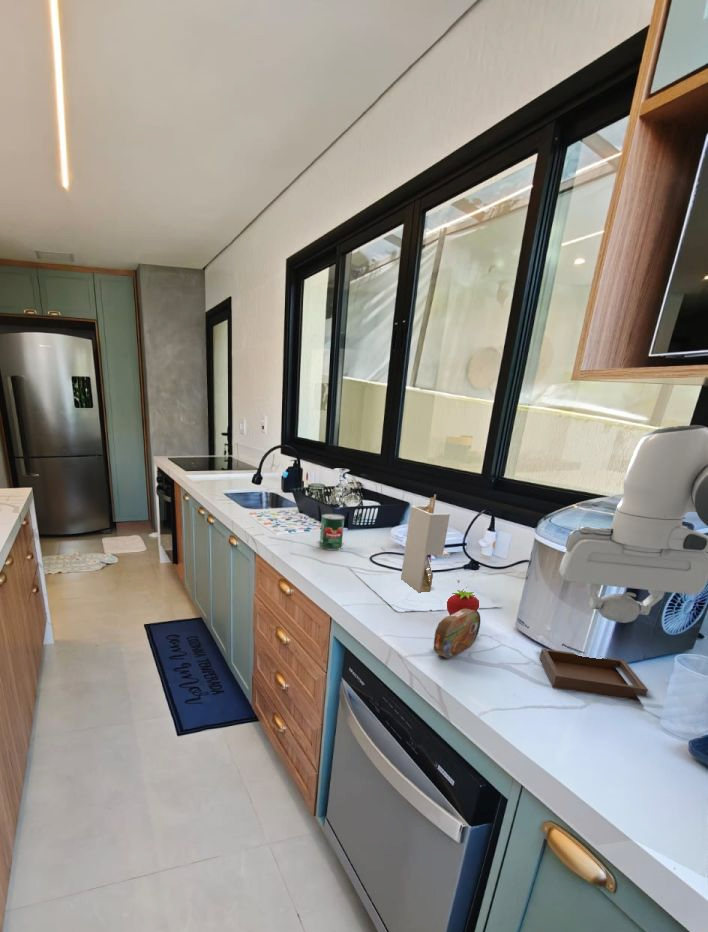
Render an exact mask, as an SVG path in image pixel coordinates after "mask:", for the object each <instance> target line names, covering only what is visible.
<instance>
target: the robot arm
mask: <svg viewBox="0 0 708 932" xmlns="http://www.w3.org/2000/svg"><path fill="white" fill-rule="evenodd" d="M614 511H615V512H614V513H613V514H614V515H613V518H612V521H611V525H610V528H604V527H590V526H581V527H579V528H576V529H574V530H572V531H571V532H570V533H569V534H568V536H567V539H566V543H565V549H566V550H565V552H564V554H563V557H562V559H561V562H560V565H559V569H558V572H559V574H560V576H561V578H563V580H565V581H566V582H570V583H578V584H586V588H587V592H588V594H589V597H590V599H589V602H588V607H589V609H592V610H598V609H600V610H601V609H602V606H601V605H603V602H604V601H603V600H602V597H601V596H598V593H597V592H599V591H600V590H601V587H602V586H607V587H617V588H624V589H625V588H626V589H636V590H643V591H644V590H645V591H647V592H648V593H649V595H648V596H647V597H646V598H645V599H644V600H642V601H637V600H636V602H637V603H638V605H639V608H640V612H639V615H643V616H648V615H649V614H650V612H651V609H652V607H653V606H655V605H656V604H657V603H658V602H659V601H661V600H662V599H663V598H664V596H665V593H673V594H682V595H693V596H695V595H698V594H699V593H701V592H702V591H704V590H705V588H706V585H707V583H708V535H707V534H705V533H703V532H700V531H697V530H695V529H694V528H692V527H690V526H687V525H685V524H683V522H684V519H685V515H686V514H688V513H689V512H692V513H696V515H697V517H698V518H699V519H700V521H701V522H702V523H703V524H704V525H705V526H707V527H708V427H707V426H704V425H701V424H700V425H699V424H690V425H678V426H670V427H668V426H667V427H663V428H662V427H661V428H658V429H655V430H652V431H650V432H648V433H647V434H646V435H644V436H643V437H642V438H641V439H640V440H639V442H638V443H637V445H636V447H635V449H634V451H633V454H632V456H631V458H630V461H629V464H628V467H627V470H626V472H625V477H624V480H623V493H622V497H621V499H620V501H619V503H618V504H617V506H616V508H615V510H614Z"/></svg>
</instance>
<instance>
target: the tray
mask: <svg viewBox="0 0 708 932" xmlns="http://www.w3.org/2000/svg"><path fill="white" fill-rule="evenodd" d="M574 653H575V652H570V651H563V650H557V649H556V650H555V649H549V648H544V647H543V648H542V647H541V651H540V655H539V657H538V660H539V659H540V660H539V662H540V661H541V662H540V664H541V663H542V664H541V666H542V668H543V670H544V672H545V674H546V677H547V678H548V680H549V683H550V684H551V686H552V688H553V689H561V690H566V691H572V692H579V693H586V694H592V695H596V696H597V695H598V696H605V697H611V698H616V699H617V698H618V699H624V700H630V701H636V702H641V699H640V697H638V696H643V697H645V696H647V695H648V692H649V689H648V687H647V686H645V684H644V683H643V682H642V681H641V679H640V678H639V677H638V676H637V674H636V673H635V672H634V671H633V668H631V667H630V666H629V664H628V663H627V662H626V661H625V660H624V659H620V658H614V657H613V658H612V657H606V658H607V659H606V658H605V659H604V658H602V659H596V658H589V657H582V656H578V655H576V654H574ZM617 667H618V668H619V669H620V670H621V672H622V673H623V674H624V676H625V677H626V678H627V679H628V681H629V682H630V683H631V684H628V682H627V681H626V679H625V678H624V676H622V674H621V673H620V671H619V670H618V669H617Z"/></svg>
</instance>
